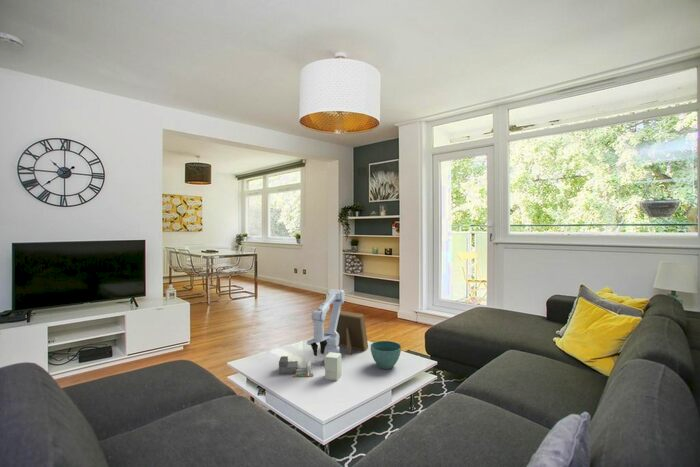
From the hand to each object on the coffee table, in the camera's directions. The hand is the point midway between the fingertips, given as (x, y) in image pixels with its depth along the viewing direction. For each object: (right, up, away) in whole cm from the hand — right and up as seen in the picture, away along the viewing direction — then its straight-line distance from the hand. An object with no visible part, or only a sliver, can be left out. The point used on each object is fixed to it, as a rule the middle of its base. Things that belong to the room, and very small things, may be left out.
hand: (318, 354), depth 202 cm
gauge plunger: (-10, -9, -2) cm, 14 cm away
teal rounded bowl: (+39, -10, +7) cm, 41 cm away
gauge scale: (-8, -10, -6) cm, 14 cm away
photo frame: (+17, -9, +34) cm, 39 cm away
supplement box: (+9, -10, -8) cm, 16 cm away
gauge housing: (-17, -9, 0) cm, 20 cm away
